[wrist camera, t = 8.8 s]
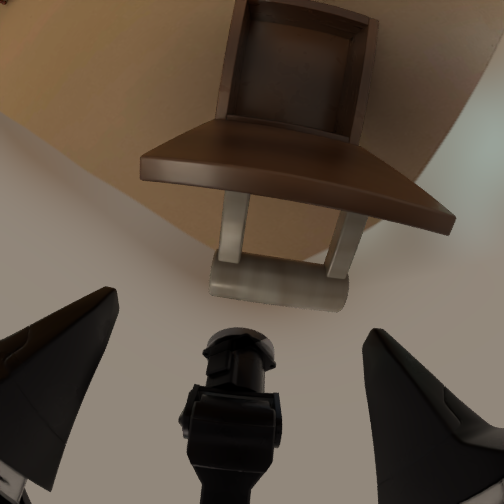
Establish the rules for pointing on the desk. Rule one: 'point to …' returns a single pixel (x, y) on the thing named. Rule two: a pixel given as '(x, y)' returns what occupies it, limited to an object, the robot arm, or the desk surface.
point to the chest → (298, 67)
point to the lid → (293, 189)
